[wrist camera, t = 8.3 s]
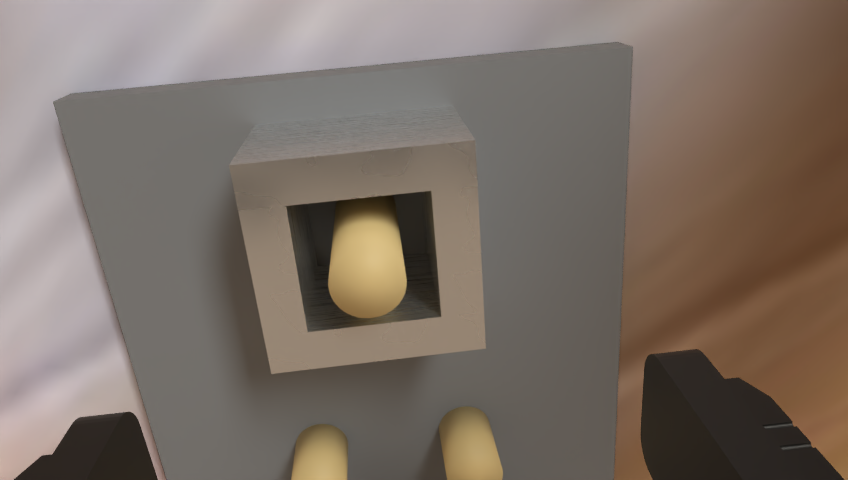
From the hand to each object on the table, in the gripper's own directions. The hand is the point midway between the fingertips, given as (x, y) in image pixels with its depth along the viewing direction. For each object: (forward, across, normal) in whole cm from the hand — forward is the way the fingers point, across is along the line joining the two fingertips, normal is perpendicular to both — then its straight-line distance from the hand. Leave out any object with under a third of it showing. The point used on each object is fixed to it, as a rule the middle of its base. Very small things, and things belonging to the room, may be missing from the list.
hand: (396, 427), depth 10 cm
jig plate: (+11, +1, +8) cm, 14 cm away
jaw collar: (+10, +1, 0) cm, 10 cm away
